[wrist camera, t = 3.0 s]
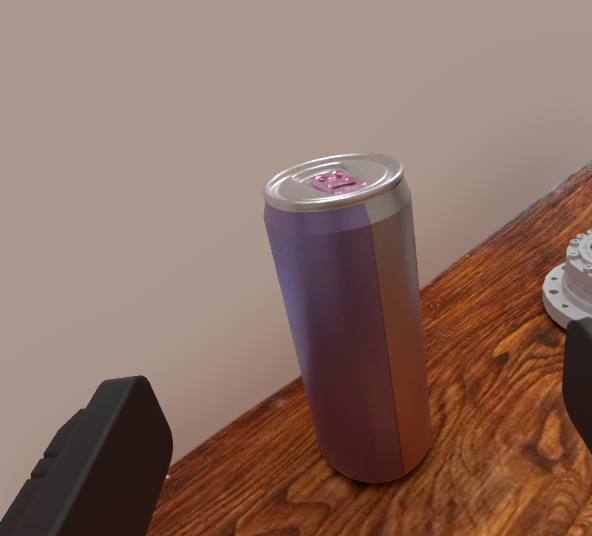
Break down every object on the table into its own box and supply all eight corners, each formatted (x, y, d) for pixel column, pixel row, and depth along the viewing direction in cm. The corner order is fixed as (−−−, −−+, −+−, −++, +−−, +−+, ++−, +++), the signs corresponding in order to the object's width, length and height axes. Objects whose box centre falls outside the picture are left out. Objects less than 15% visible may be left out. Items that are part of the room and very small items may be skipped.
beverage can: (349, 510, 22) (284, 219, 16) (304, 426, 28) (241, 179, 21) (456, 459, 24) (441, 169, 17) (394, 387, 29) (363, 143, 22)
